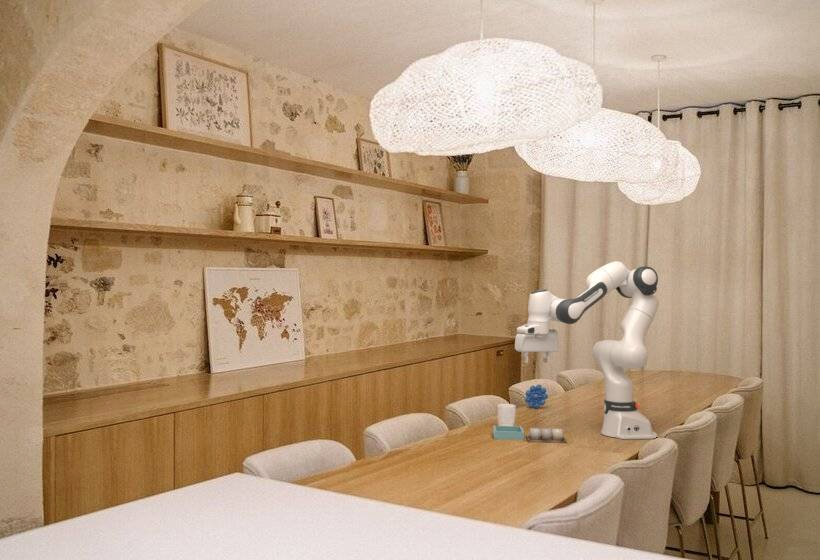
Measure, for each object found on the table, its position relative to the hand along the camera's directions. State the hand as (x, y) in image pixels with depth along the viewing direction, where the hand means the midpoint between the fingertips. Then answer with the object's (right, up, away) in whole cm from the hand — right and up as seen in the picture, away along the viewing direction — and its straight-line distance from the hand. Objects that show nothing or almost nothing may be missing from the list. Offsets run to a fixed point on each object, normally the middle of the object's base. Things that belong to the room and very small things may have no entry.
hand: (536, 362), depth 304 cm
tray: (+2, -30, -11) cm, 32 cm away
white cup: (-11, -30, +13) cm, 34 cm away
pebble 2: (+2, -30, -11) cm, 31 cm away
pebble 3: (+6, -30, -11) cm, 32 cm away
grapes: (+11, -30, +64) cm, 72 cm away
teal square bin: (-12, -30, -4) cm, 32 cm away
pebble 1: (-2, -30, -10) cm, 31 cm away
